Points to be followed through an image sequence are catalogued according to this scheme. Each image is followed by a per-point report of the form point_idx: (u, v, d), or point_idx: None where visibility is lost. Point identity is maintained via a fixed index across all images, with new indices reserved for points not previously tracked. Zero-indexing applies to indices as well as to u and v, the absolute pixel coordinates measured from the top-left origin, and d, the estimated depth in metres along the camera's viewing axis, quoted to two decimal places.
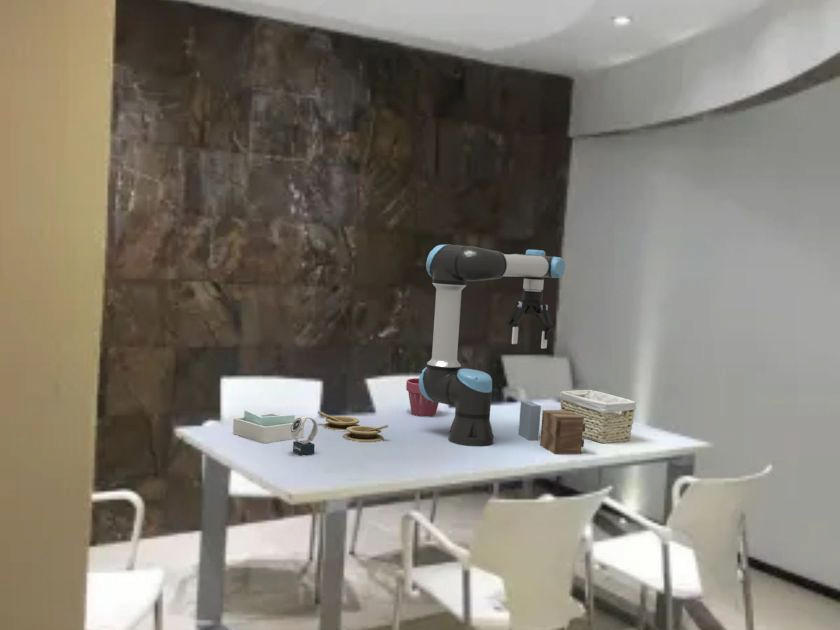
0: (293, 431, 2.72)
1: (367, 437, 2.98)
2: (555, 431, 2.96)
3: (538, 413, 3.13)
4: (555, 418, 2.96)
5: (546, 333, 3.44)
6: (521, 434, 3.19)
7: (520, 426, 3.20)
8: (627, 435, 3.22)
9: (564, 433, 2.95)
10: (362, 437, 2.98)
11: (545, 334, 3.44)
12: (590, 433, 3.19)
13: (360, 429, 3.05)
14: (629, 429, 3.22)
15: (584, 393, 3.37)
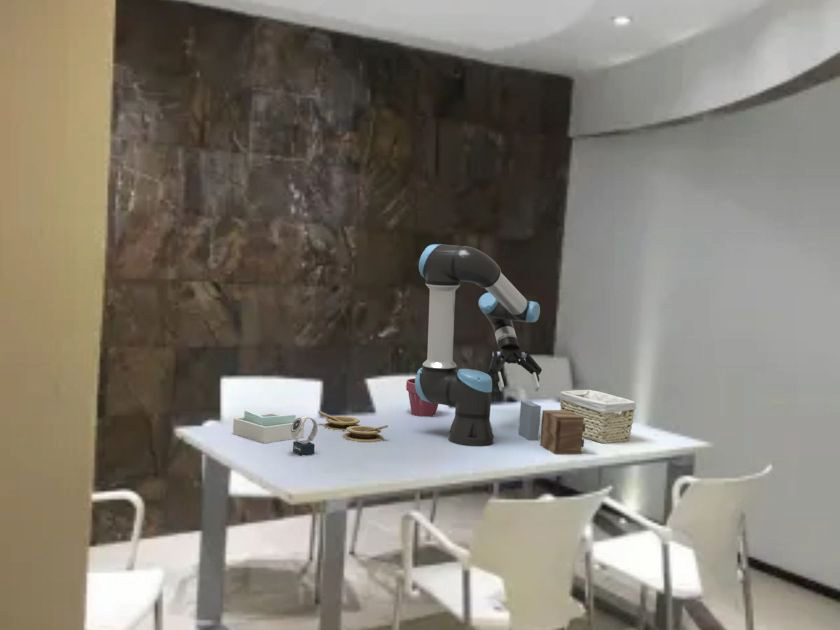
0: (293, 431, 2.72)
1: (367, 437, 2.98)
2: (555, 431, 2.96)
3: (538, 413, 3.13)
4: (555, 418, 2.96)
5: (537, 375, 3.32)
6: (521, 434, 3.19)
7: (520, 426, 3.20)
8: (627, 435, 3.22)
9: (564, 433, 2.95)
10: (362, 437, 2.98)
11: (536, 375, 3.32)
12: (590, 433, 3.19)
13: (360, 429, 3.05)
14: (629, 429, 3.22)
15: (584, 393, 3.36)
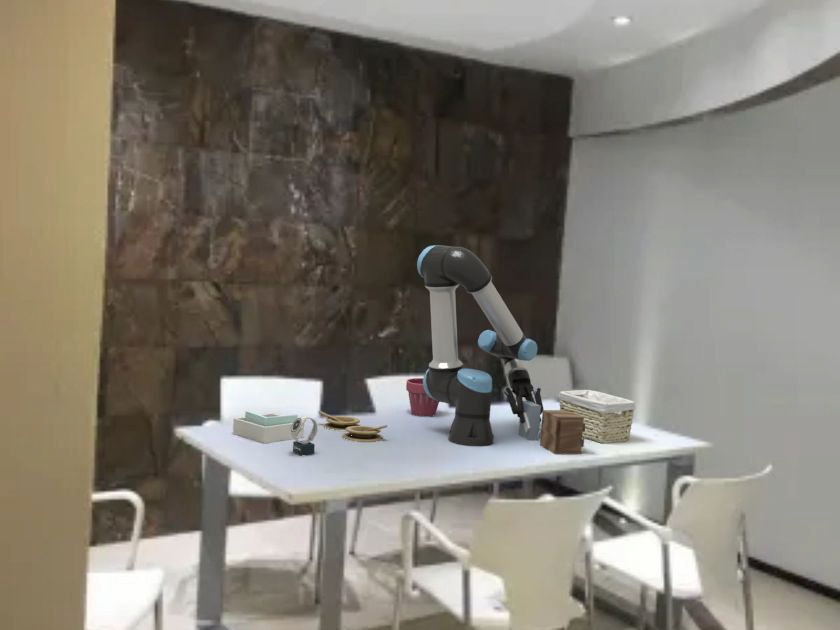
0: (293, 431, 2.72)
1: (366, 437, 2.98)
2: (555, 431, 2.96)
3: (538, 413, 3.13)
4: (555, 418, 2.96)
5: None
6: (521, 434, 3.19)
7: (520, 426, 3.20)
8: (626, 435, 3.22)
9: (564, 433, 2.95)
10: (361, 437, 2.98)
11: None
12: (590, 433, 3.19)
13: (360, 429, 3.05)
14: (628, 429, 3.22)
15: (583, 393, 3.36)
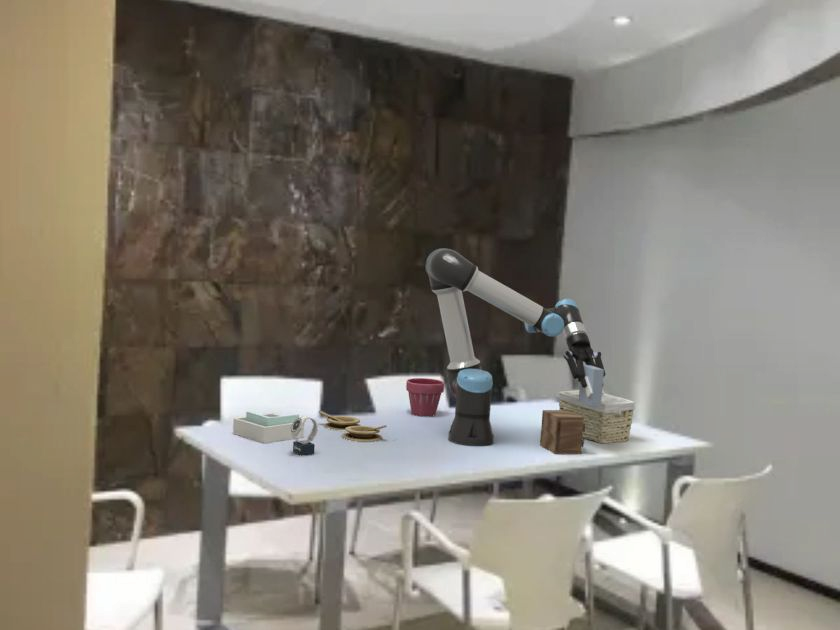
0: (293, 431, 2.72)
1: (365, 437, 2.98)
2: (555, 431, 2.96)
3: (601, 377, 2.99)
4: (555, 418, 2.96)
5: None
6: (581, 400, 3.05)
7: (580, 391, 3.06)
8: (626, 435, 3.22)
9: (564, 433, 2.95)
10: (360, 437, 2.98)
11: None
12: (590, 433, 3.19)
13: (359, 429, 3.05)
14: (628, 429, 3.22)
15: None
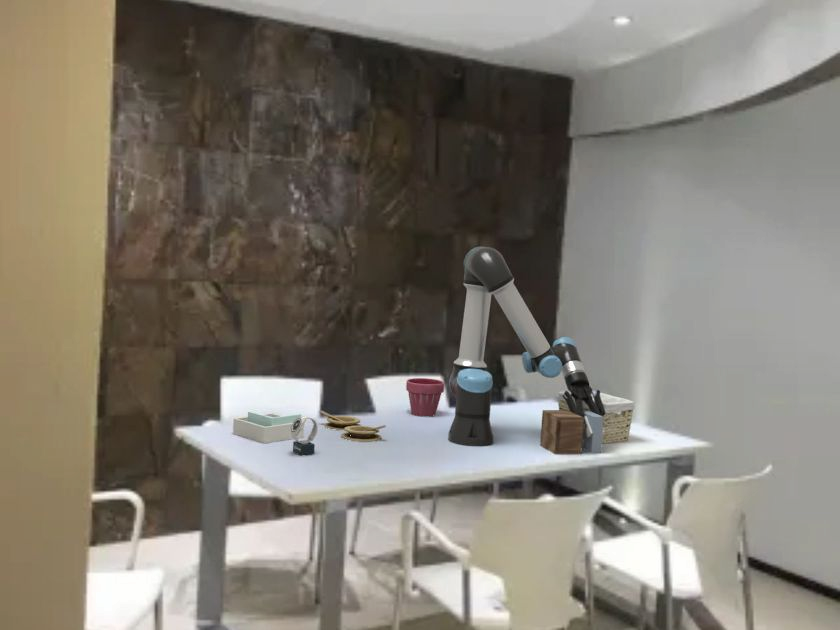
0: (293, 431, 2.72)
1: (364, 437, 2.98)
2: (555, 431, 2.96)
3: (601, 424, 3.00)
4: (555, 418, 2.96)
5: None
6: None
7: None
8: (626, 435, 3.22)
9: (564, 433, 2.95)
10: (359, 437, 2.98)
11: None
12: None
13: (359, 429, 3.05)
14: (628, 429, 3.22)
15: None
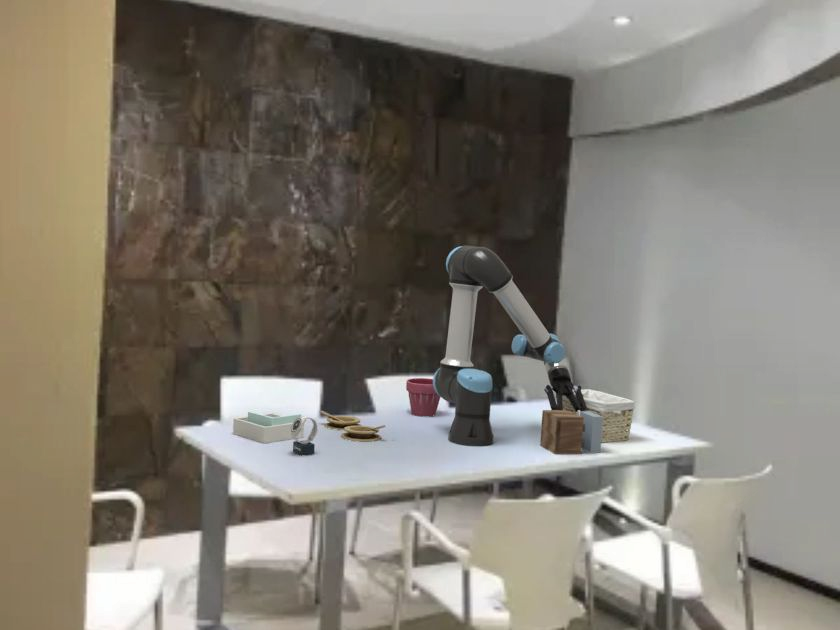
0: (293, 431, 2.72)
1: (364, 437, 2.98)
2: (555, 431, 2.96)
3: (600, 424, 3.00)
4: (555, 418, 2.96)
5: None
6: None
7: None
8: (626, 434, 3.23)
9: (564, 433, 2.95)
10: (359, 437, 2.98)
11: None
12: None
13: (359, 429, 3.05)
14: (628, 428, 3.23)
15: (583, 393, 3.38)
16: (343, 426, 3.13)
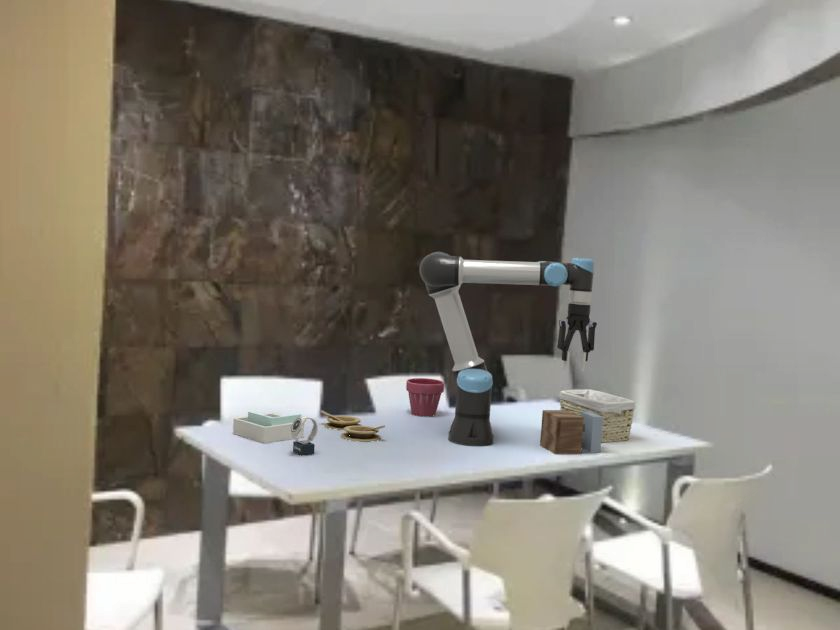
0: (293, 431, 2.72)
1: (364, 437, 2.98)
2: (555, 431, 2.96)
3: (600, 424, 3.00)
4: (555, 418, 2.96)
5: (587, 354, 3.16)
6: None
7: None
8: (626, 434, 3.23)
9: (564, 433, 2.95)
10: (359, 437, 2.98)
11: (586, 355, 3.16)
12: None
13: (358, 429, 3.05)
14: (628, 428, 3.23)
15: (583, 393, 3.38)
16: (343, 426, 3.13)
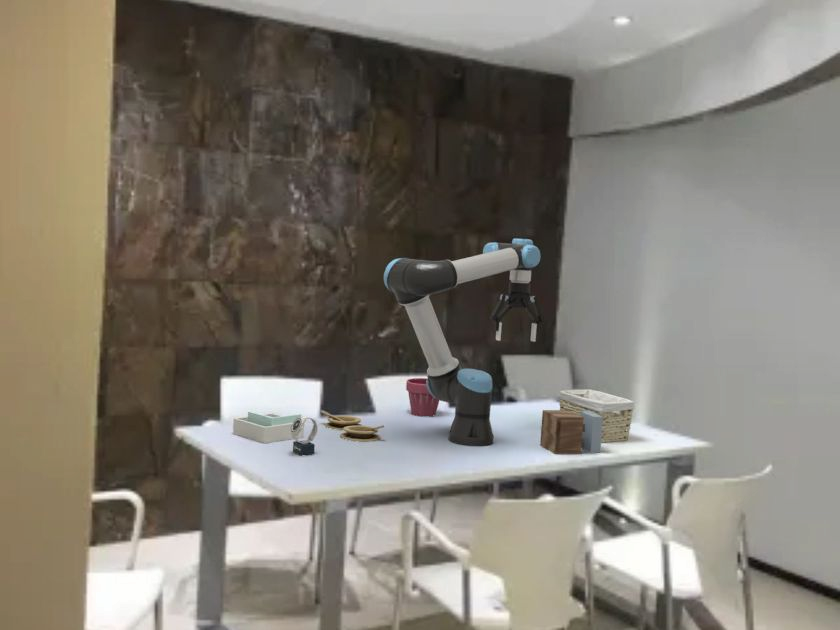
0: (293, 431, 2.72)
1: (363, 437, 2.98)
2: (555, 431, 2.96)
3: (600, 424, 3.00)
4: (555, 418, 2.96)
5: (537, 325, 3.32)
6: None
7: None
8: (625, 435, 3.23)
9: (564, 433, 2.95)
10: (358, 437, 2.98)
11: (536, 326, 3.31)
12: None
13: (358, 429, 3.05)
14: (627, 429, 3.23)
15: (583, 393, 3.37)
16: (343, 426, 3.13)
